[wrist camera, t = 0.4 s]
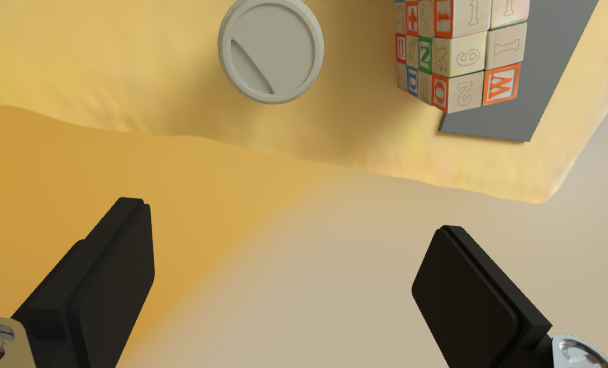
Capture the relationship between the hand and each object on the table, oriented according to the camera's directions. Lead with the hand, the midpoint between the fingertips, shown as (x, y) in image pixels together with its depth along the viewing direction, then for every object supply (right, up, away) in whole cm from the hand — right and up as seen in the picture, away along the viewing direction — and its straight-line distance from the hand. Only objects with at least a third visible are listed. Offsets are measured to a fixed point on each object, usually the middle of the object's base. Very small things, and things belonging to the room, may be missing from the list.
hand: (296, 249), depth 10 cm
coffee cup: (-3, +18, +24) cm, 30 cm away
